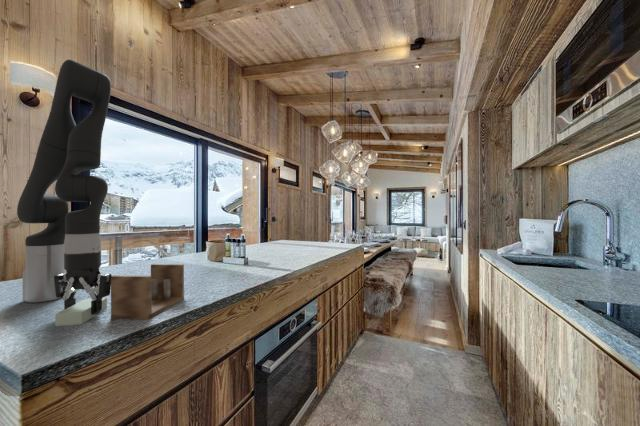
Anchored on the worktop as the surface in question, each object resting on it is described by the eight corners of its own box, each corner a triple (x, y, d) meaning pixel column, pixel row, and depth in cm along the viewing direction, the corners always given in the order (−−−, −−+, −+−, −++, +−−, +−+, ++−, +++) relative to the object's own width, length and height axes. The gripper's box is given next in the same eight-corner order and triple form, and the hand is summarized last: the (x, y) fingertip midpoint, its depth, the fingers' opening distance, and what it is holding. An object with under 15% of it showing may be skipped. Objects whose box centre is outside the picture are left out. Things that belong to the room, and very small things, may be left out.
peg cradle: (111, 318, 73) (110, 276, 73) (153, 298, 90) (153, 264, 90) (148, 319, 72) (148, 276, 72) (183, 298, 89) (183, 264, 89)
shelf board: (55, 326, 68) (55, 314, 68) (84, 309, 80) (84, 299, 80) (81, 324, 69) (81, 312, 69) (106, 308, 81) (106, 297, 81)
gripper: (42, 252, 71) (42, 318, 71) (97, 252, 71) (97, 319, 71) (70, 248, 79) (70, 308, 79) (120, 248, 78) (120, 308, 78)
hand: (83, 313), depth 75 cm, fingers closed on shelf board, 6 cm apart
